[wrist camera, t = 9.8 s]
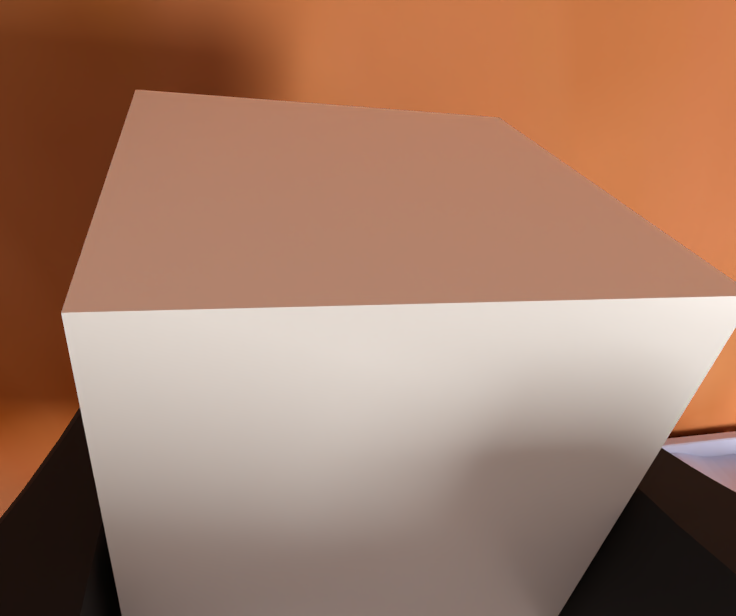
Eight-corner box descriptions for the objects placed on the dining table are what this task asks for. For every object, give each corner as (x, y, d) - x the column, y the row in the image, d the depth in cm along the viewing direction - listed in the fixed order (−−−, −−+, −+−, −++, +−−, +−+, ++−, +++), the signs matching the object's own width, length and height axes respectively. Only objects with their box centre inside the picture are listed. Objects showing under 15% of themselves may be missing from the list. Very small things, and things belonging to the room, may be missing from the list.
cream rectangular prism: (498, 117, 9) (754, 295, 5) (401, 491, 15) (485, 732, 10) (135, 89, 8) (59, 312, 3) (173, 518, 13) (162, 817, 9)
